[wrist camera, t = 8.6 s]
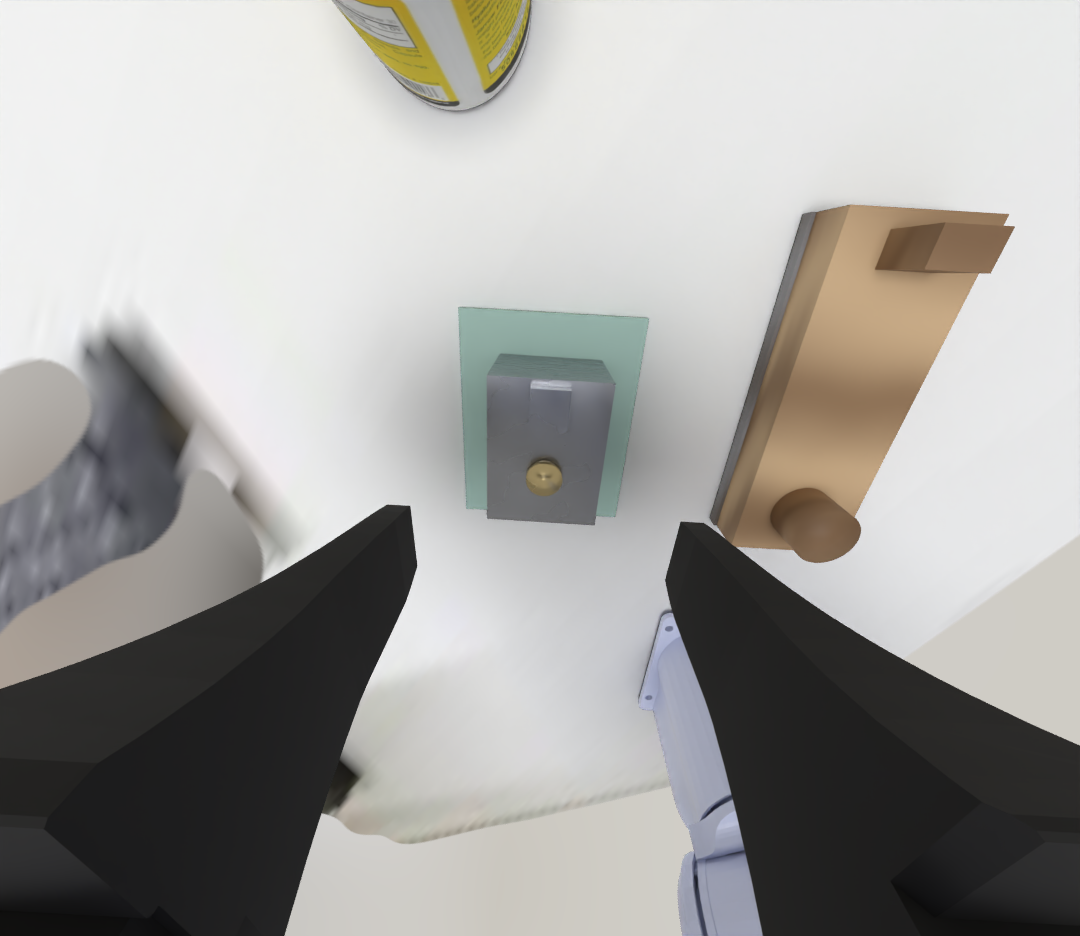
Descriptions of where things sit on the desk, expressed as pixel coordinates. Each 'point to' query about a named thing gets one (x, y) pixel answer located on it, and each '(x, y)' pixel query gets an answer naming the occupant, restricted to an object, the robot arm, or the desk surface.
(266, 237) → the desk surface
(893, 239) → the plane body
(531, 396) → the lever cap
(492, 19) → the supplement bottle
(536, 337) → the mat
